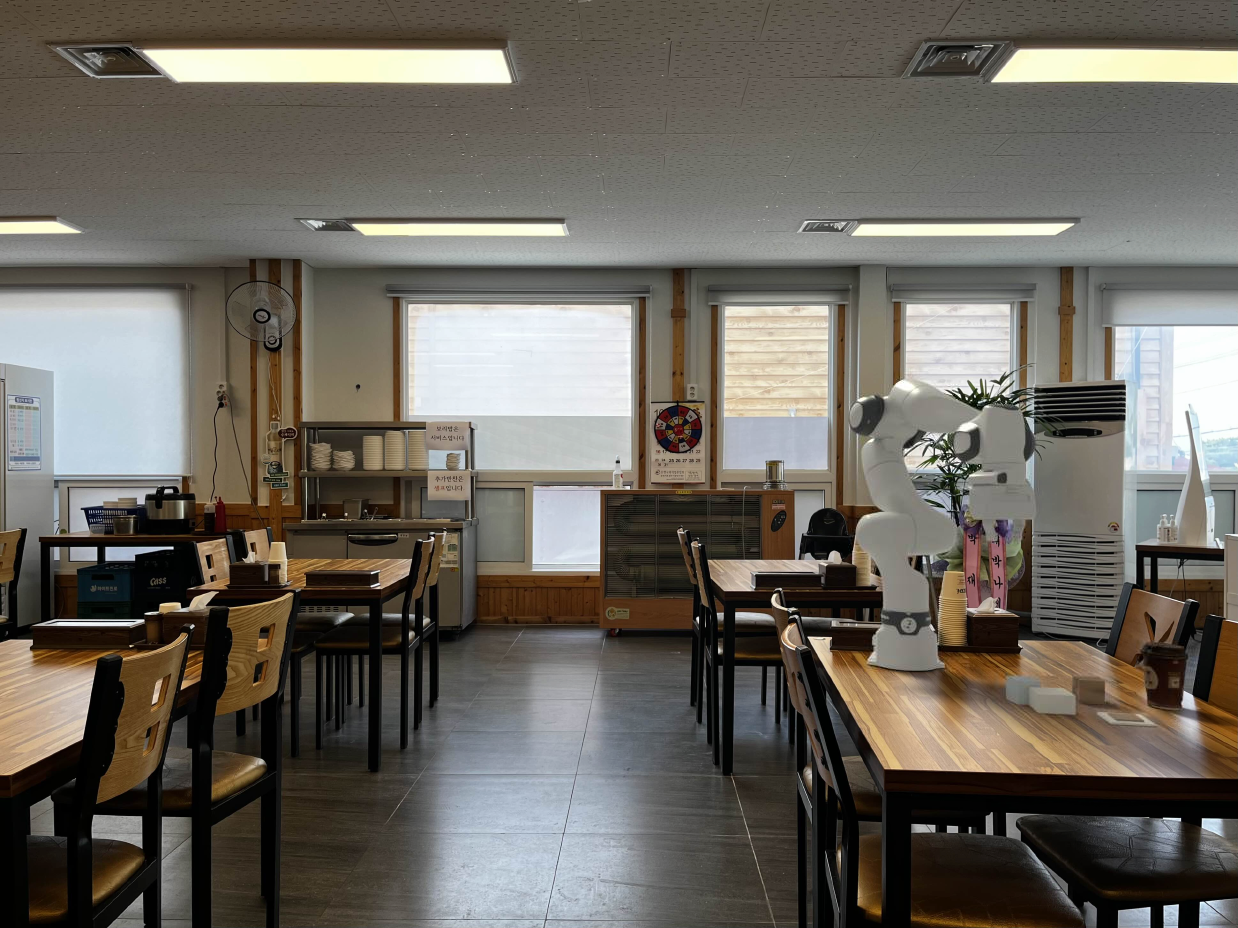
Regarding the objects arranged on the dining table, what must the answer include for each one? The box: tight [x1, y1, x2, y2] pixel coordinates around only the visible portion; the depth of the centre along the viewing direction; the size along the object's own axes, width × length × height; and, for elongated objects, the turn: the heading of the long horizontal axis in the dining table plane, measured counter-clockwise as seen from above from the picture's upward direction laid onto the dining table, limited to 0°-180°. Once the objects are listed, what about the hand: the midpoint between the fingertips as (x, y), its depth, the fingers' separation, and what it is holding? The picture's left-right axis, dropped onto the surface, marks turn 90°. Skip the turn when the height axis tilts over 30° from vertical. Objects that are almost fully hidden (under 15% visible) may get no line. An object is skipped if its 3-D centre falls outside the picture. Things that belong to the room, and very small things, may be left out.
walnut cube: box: [1071, 674, 1106, 705], centre depth 194 cm, size 5×5×5 cm
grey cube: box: [1005, 675, 1042, 706], centre depth 193 cm, size 5×5×5 cm
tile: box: [1096, 711, 1157, 727], centre depth 178 cm, size 8×8×1 cm
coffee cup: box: [1139, 641, 1190, 711], centre depth 190 cm, size 9×8×13 cm
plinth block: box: [1028, 686, 1077, 716], centre depth 186 cm, size 7×7×4 cm
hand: (1004, 540), depth 197 cm, fingers open, 8 cm apart
